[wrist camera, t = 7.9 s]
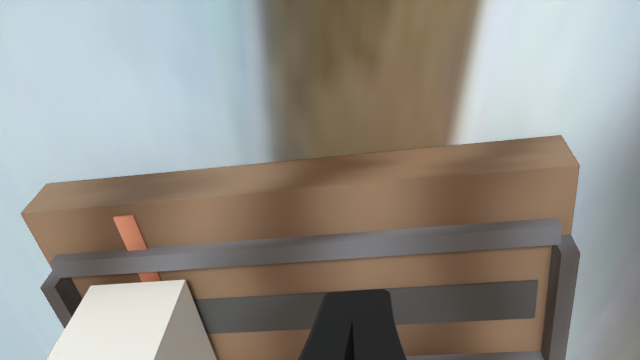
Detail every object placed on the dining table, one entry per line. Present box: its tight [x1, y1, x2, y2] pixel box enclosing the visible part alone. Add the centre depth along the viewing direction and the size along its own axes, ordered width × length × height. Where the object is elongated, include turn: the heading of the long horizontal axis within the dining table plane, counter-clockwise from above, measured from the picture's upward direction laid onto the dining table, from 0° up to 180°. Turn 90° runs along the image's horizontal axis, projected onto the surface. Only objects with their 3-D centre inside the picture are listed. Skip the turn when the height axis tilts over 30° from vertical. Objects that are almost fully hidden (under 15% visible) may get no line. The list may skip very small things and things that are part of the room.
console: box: [21, 135, 580, 360], centre depth 23 cm, size 20×12×3 cm, turn 99°
